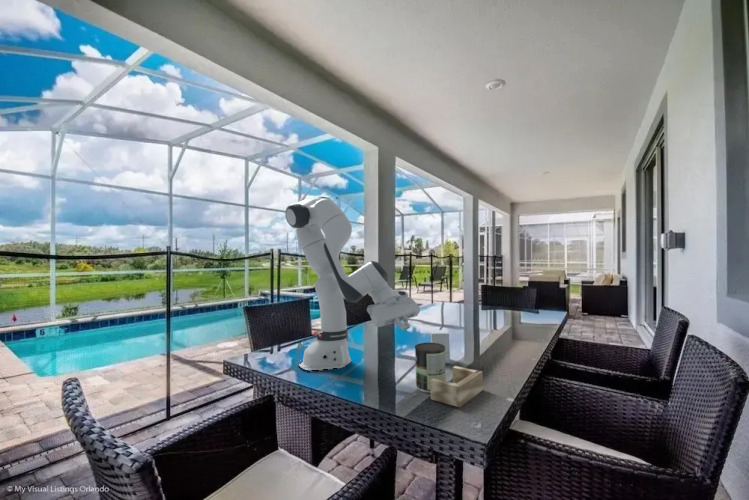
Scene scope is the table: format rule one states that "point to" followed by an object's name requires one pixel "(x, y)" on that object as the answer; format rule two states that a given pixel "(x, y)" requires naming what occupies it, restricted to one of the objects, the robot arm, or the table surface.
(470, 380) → the wooden dock
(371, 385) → the table surface
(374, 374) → the table surface
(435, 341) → the supplement box
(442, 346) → the coffee can
